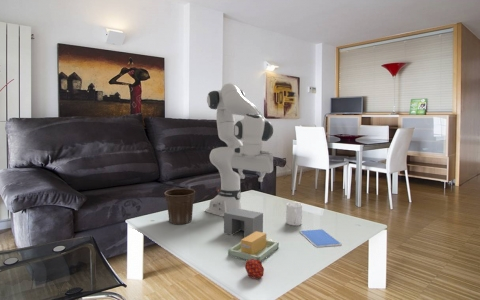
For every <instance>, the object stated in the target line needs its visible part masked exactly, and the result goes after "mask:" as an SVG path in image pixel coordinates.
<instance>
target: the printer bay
mask: <svg viewBox="0 0 480 300" xmlns="http://www.w3.org/2000/svg"><path fill="white" fill-rule="evenodd" d="M239 231H243V232H244V233H243V234H244V237H243V238H245V237H247V236H249V235H250V234H252V233H254V232H256V231H258V232H262V233H264V212H260V211H254V210H247V209H243V208H242V209H237V208H234V209H232V210H229V211H227V212H225V213H224V216H223V234H225V235H226V234H227V235H231V236H232V235H234V234H236V233H237V232H239Z"/></svg>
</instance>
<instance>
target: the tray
mask: <svg viewBox="0 0 480 300" xmlns="http://www.w3.org/2000/svg"><path fill="white" fill-rule="evenodd" d="M279 248H280V247H279V242H278V241H275V240H274V241H273V240H269V239H266V248H264V249H263V250H261V251H260V252H258V253H257V254H255V255H251V254H248V253H244V252H241V241H240V242H238V243H237V244H234V246H232V247H230V248H229V249H228V250H227V256H228V257H231V258H236V259H239V260H242V261H246V260H247V261H248V260H250V259H255V260H260V261H262V262H263V261H264V260H265V258H266V257H267V258H268V257H269V256H271V255H272V254H273V253H274V252H276V250H278V249H279ZM267 258H266V259H267Z"/></svg>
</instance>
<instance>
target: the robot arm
mask: <svg viewBox="0 0 480 300" xmlns="http://www.w3.org/2000/svg"><path fill="white" fill-rule="evenodd" d="M206 104H207V105H208V108H209V109H210V110H216V127H217V135H218V138H219V139H220V141H222V142H224V143H225V144H226V146H219V147H216V148H213V149H211V151H210V153H209V161H210V163H211V164H212V165H213V166H214V167H215V168H216V169H217V170H218V173H219V175H220V184H221V185H220V188H219V189H217V192H216V193H218V194H217V195H216V196H215V197H214V198H212V199H211V200H210V201H209V205H208V207H206V208H205V210H204V211H205V212H206V213H208V214H209V213H210V214H213V215H215V216H219V217H224V213H225V212H227V211H229V210H232V209H234V208H237V209H243V208H242V202H241V197H242V196H241V194H242V192H241V190H242V188H241V179H242V180H244V179H245V178H246V176H245V174H244V172H243V171H249V172H258V173H260V176H259V177H258V180H257V182H259V183H262V182H264V177H265V176H266V174H271V173H272V172H273V171H274V154H273V153H272V152H271V151H265V150H263V142H267V141H268V140H270V139H271V138H272V136H273V134H274V126H273V124H272V123H271V121H270V120H269V119H267V118H265V116H264V115H263V114H262V113H261V111H260V110H259V108H258V107H257V106H256V105H255V104H254V103H252V102H251V101H249V100H248V99H247V98H246V95H245V92H244V91H243V90H242V89H239V87H237V85H235V84H234V83H232V82H229V83H225V84H224V85H223V86H222V87H221V89H219V90H212V91H209V92H208V94H207V96H206ZM235 115H236V116H242V117H243V118H242V119H241V120H238V121H237V122H236V117H235ZM233 169H237V171H238V173H237V172H236V171H235V170H233Z"/></svg>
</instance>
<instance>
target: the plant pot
mask: <svg viewBox="0 0 480 300" xmlns="http://www.w3.org/2000/svg"><path fill="white" fill-rule="evenodd" d="M164 195H165V201H166V205H167V212H168V213H167V214H168V222H169V223H170V224H172V225H186V223H187V224H189V223H191V222H192V221H193V209H194V200H195V195H196V191H195V190H194V189H190V188H172V189H168V190H166V191H165V192H164Z"/></svg>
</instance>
